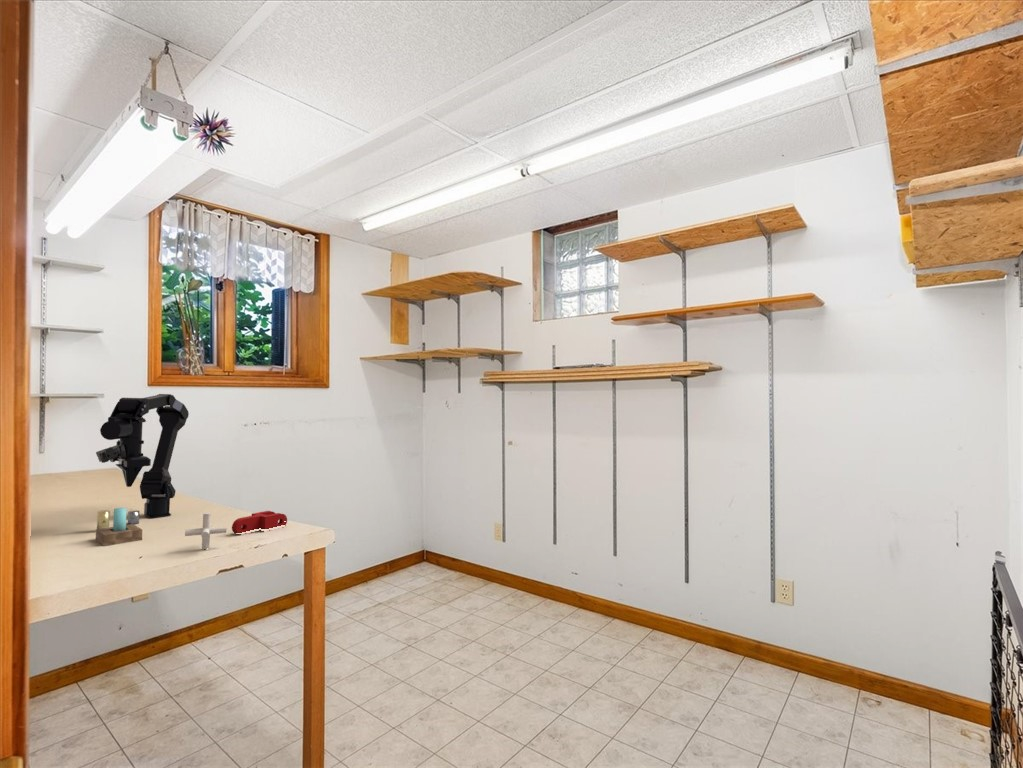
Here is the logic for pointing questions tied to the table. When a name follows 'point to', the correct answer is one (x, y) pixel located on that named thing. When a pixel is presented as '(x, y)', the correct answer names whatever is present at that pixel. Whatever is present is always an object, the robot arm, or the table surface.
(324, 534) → the table surface
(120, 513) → the pin long
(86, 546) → the table surface
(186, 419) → the robot arm
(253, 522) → the mechanical linkage
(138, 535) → the hole block
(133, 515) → the pin short
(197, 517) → the table surface
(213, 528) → the pipe connector
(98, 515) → the pin medium
